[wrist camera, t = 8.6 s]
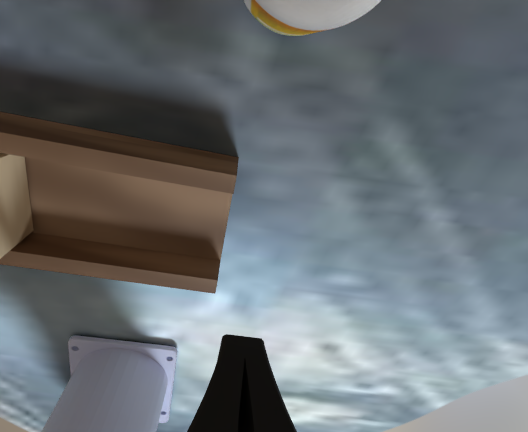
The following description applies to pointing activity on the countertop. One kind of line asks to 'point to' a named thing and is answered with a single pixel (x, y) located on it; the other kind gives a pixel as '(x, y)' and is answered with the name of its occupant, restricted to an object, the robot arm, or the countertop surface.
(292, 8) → the supplement bottle
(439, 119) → the countertop surface
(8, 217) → the maple block
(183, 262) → the brown channel
